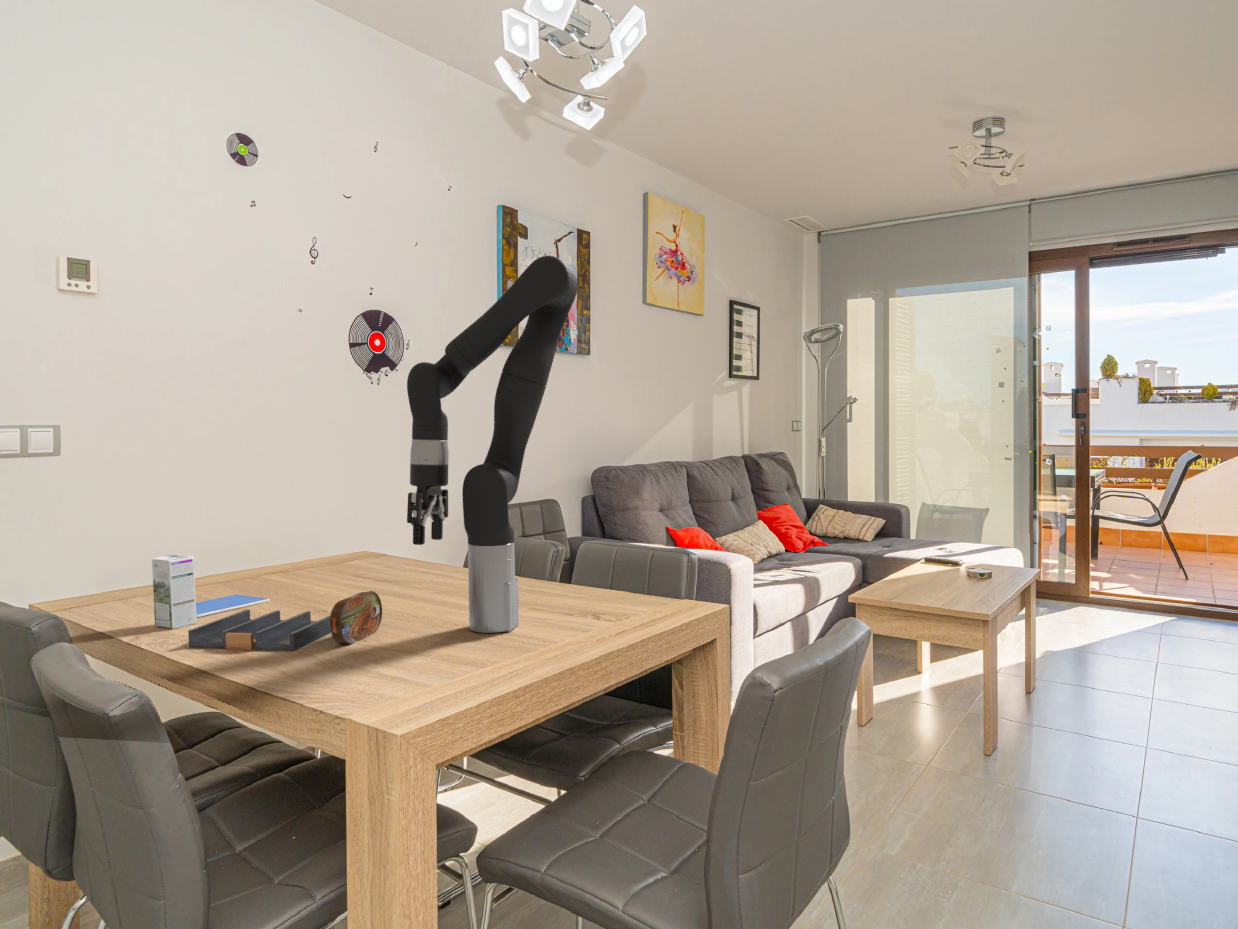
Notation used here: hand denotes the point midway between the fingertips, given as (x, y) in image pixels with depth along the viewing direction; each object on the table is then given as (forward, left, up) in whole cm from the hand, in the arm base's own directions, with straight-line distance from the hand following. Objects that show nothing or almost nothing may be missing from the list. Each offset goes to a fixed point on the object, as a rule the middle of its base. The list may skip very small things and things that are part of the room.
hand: (428, 542), depth 154 cm
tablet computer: (+57, -12, -18) cm, 61 cm away
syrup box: (+54, +5, -18) cm, 57 cm away
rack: (+28, +11, -17) cm, 35 cm away
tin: (+11, +10, -18) cm, 23 cm away
